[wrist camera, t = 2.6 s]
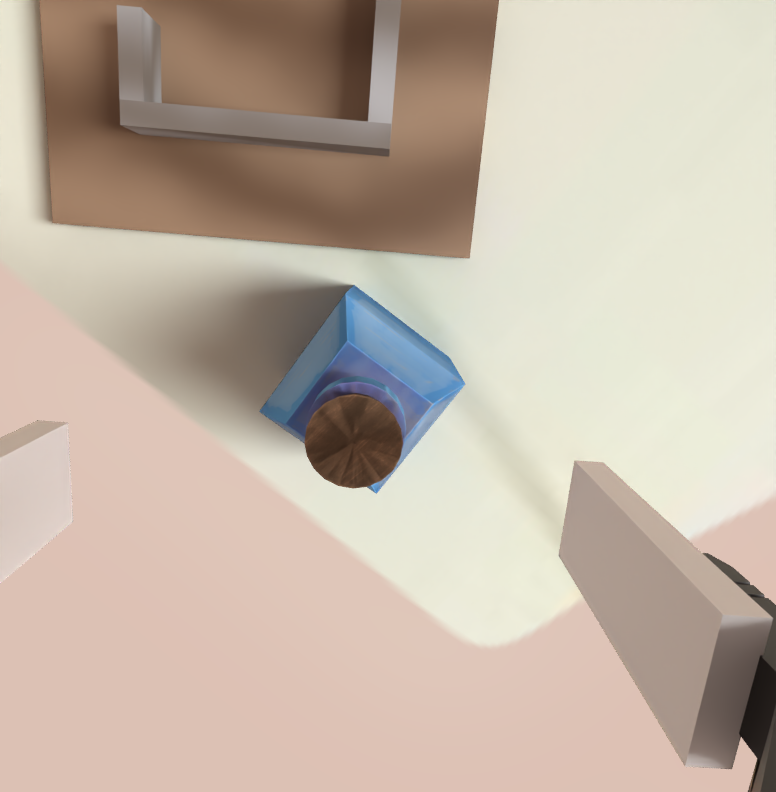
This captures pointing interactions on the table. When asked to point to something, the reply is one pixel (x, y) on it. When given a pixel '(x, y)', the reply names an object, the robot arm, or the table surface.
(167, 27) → the pocket board
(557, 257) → the table surface
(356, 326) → the perfume bottle
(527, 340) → the table surface
